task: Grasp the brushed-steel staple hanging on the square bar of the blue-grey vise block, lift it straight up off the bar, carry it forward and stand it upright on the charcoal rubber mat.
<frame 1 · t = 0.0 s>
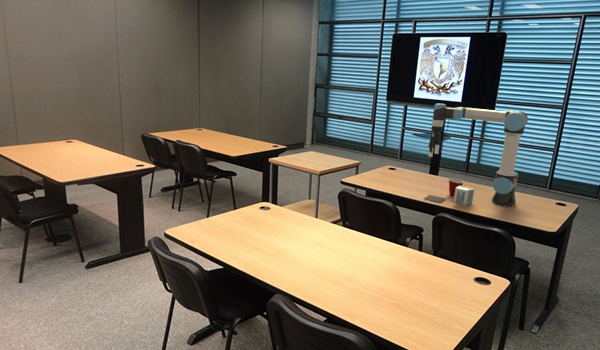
hand: (433, 155, 311), 28 cm above the table, fingers open, 13 cm apart
rubber mat: (434, 199, 302), on the table
steel crook: (460, 202, 289), point 2 cm above the table, touching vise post
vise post: (463, 203, 297), on the table
plastic cup: (453, 195, 313), on the table
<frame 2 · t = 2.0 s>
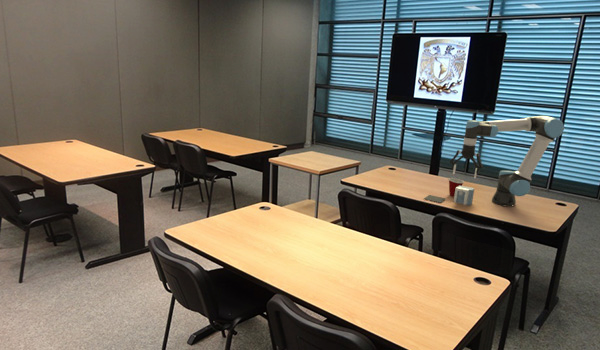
hand: (464, 176, 284), 21 cm above the table, fingers open, 13 cm apart
nothing on the table moved.
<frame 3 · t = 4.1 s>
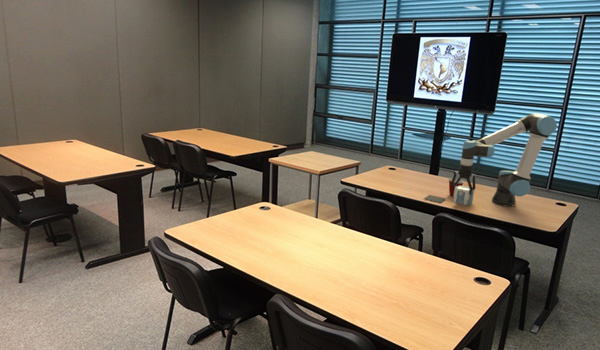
hand: (461, 197, 288), 6 cm above the table, fingers closed on steel crook, 8 cm apart
steel crook: (460, 202, 289), point 2 cm above the table, touching gripper, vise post
everything else where it was.
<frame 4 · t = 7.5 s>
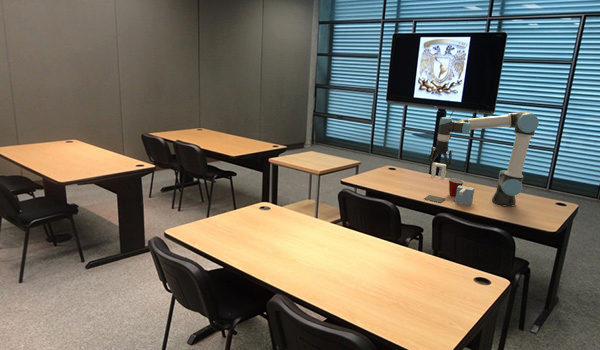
hand: (438, 172, 297), 19 cm above the table, fingers closed on steel crook, 8 cm apart
steel crook: (437, 178, 298), point 15 cm above the table, touching gripper
everything else where it was.
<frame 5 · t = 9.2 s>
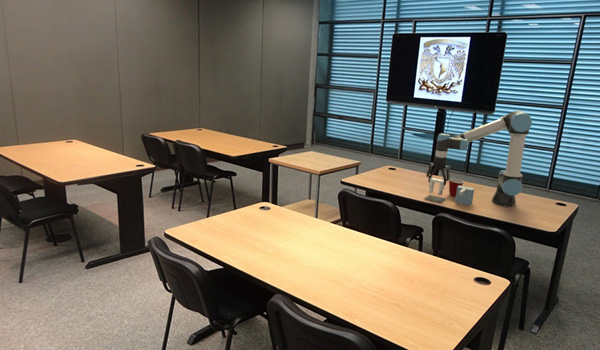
hand: (436, 188, 300), 8 cm above the table, fingers closed on steel crook, 8 cm apart
steel crook: (435, 193, 301), point 4 cm above the table, touching gripper
everything else where it was.
when the fingers open (5 cm above the table, at t = 10.7 s): steel crook stays where it is, resting on rubber mat.
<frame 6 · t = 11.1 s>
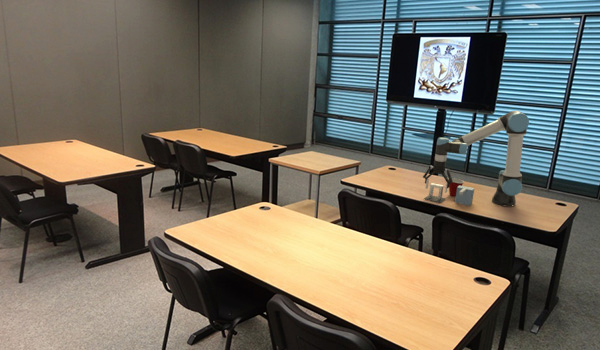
hand: (436, 190, 300), 7 cm above the table, fingers open, 13 cm apart
steel crook: (435, 198, 302), point 1 cm above the table, touching rubber mat
everything else where it was.
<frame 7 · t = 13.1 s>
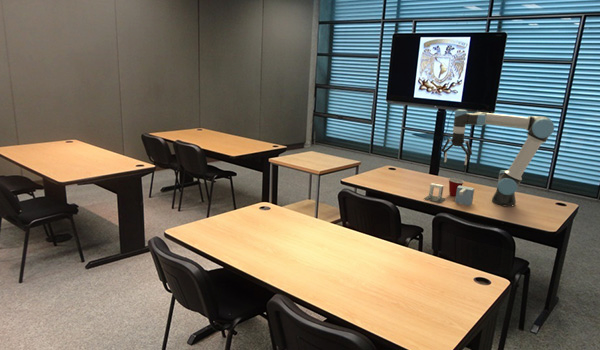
hand: (455, 163, 298), 26 cm above the table, fingers open, 13 cm apart
nothing on the table moved.
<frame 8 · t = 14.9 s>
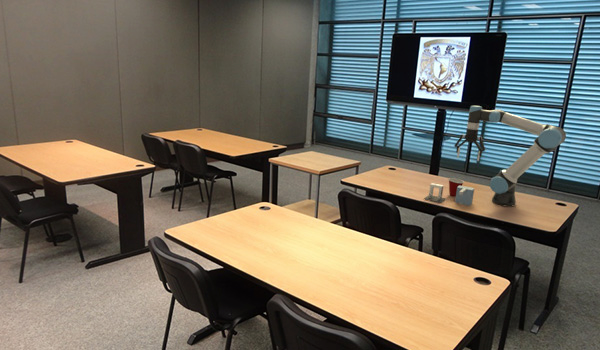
hand: (467, 158, 301), 29 cm above the table, fingers open, 13 cm apart
nothing on the table moved.
at the end: steel crook inside the target area on the rubber mat (0.1 cm from its centre), point 0.6 cm above the rubber mat's base; steel crook tilted 0°; steel crook touching rubber mat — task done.
